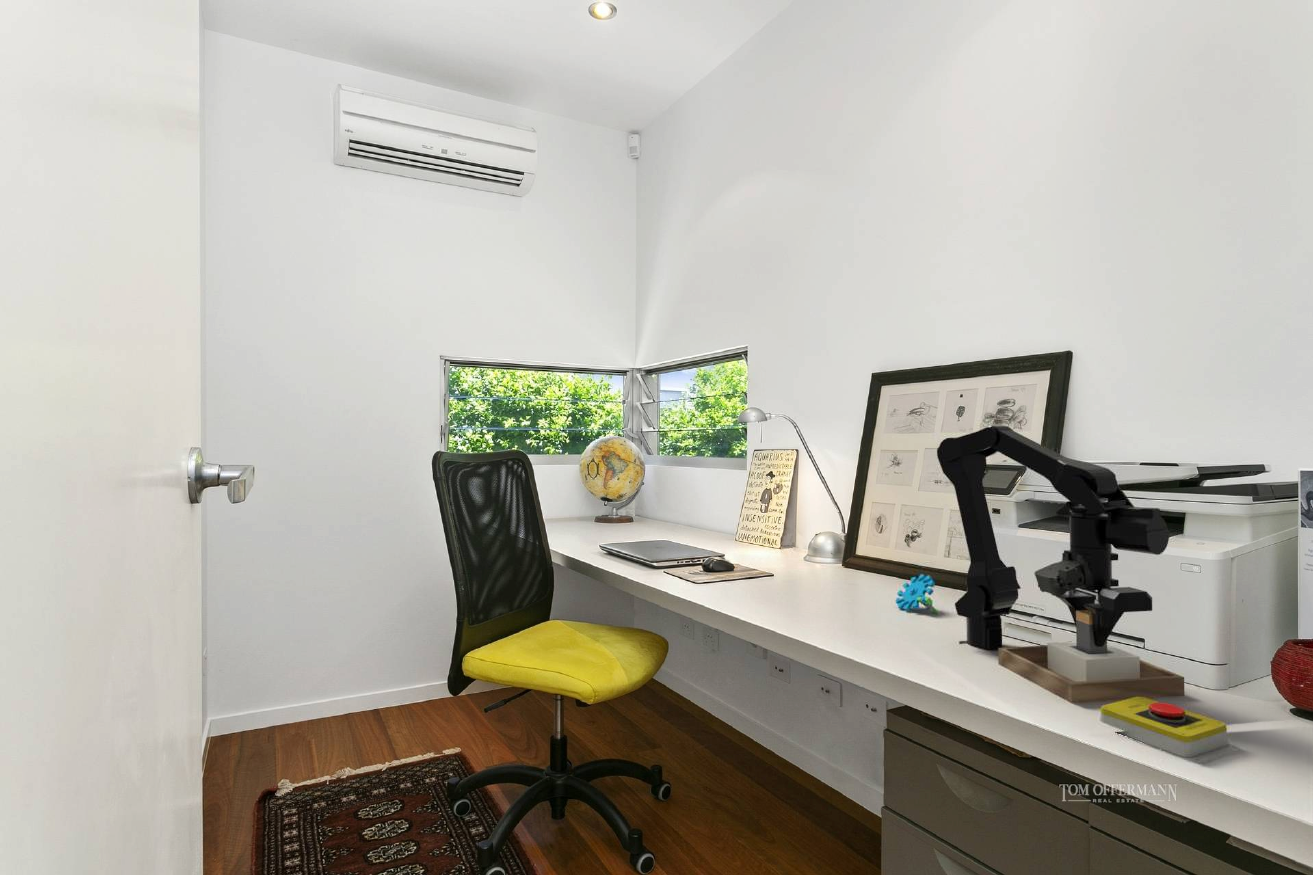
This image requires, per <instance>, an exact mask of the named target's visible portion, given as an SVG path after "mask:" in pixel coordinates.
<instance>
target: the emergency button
mask: <svg viewBox="0 0 1313 875" xmlns="http://www.w3.org/2000/svg"><path fill="white" fill-rule="evenodd" d="M1099 721H1100V722H1101V723H1104V724H1106V725H1108V726H1112V727H1115V728H1117V729H1120V730H1122V731H1114V732H1115V733H1114V734H1116V733H1117V734H1116V735H1119V734H1121V735H1123V736H1122V737H1124V736H1127V737H1128V738H1127V737H1126V738H1127V739H1129V738H1132V739H1134V740H1133V741H1135V740H1137V741H1139V742H1138V743H1140V742H1142V743H1141V744H1143V743H1144V744H1143V745H1145V744H1146V746H1148V745H1149V746H1148V747H1151V748H1153V747H1154V749H1157V750H1159V749H1161V750H1160V751H1162V752H1164V751H1165V753H1168V754H1170V755H1172V756H1175V757H1178V758H1181V759H1183V760H1186V761H1189V762H1192V763H1196V764H1206V763H1209V762H1212V761H1215V760H1218V759H1221V758H1224V757H1227V756H1230V755H1233V754H1235V753H1238V752H1241V750H1242V749H1241V747H1240V746H1239V745H1236V744H1232V743H1229V738H1228V729H1227V724H1226V723H1225V722H1223V721H1222V720H1221V721H1220V720H1217V719H1214V718H1210V717H1207V716H1204V715H1202V714H1198V713H1195V712H1193V711H1192V712H1191V711H1189V710H1185V709H1184V708H1182V707H1180V706H1177V705H1175V704H1171V703H1166V702H1164V703H1163V702H1160V701H1158V700H1154V699H1152V698H1144V697H1134V698H1130V699H1126V700H1117V701H1115V702H1112V703H1111V702H1110V703H1108V704H1104V705H1101V707H1100V715H1099ZM1121 735H1120V736H1121ZM1132 739H1131V740H1132ZM1137 741H1136V742H1137Z"/></svg>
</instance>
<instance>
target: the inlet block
mask: <svg viewBox="0 0 1313 875" xmlns="http://www.w3.org/2000/svg"><path fill="white" fill-rule="evenodd" d="M1046 645H1048V669H1050V670H1052V671H1054V672H1056V673H1058V674H1060V675H1062V676H1064V677H1066V678H1068V679H1070V680H1072V681H1075V682H1083V681H1099V680H1115V679H1131V678H1140V660H1141V656H1139V655H1136V654H1134V653H1131V652H1128V651H1127V650H1123V649H1122V648H1118V647H1116V646H1113V645H1111V644H1108V643H1107V654H1091V655H1089V654H1086V653H1084V652H1082V651H1079V650H1077V645H1076V641H1063V642H1048V643H1047V644H1046Z"/></svg>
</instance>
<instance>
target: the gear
mask: <svg viewBox="0 0 1313 875" xmlns="http://www.w3.org/2000/svg"><path fill="white" fill-rule="evenodd" d="M935 585H936V582H935V581H934V580H933V578H932V577H931V575H929V574H928V575H926V576H925V574H923V573H921V574H920V575H919V577H916V576H913V577H911V578H910V583H909V582H904V583H903V584H902V587H903V588H904V589H905V590H904V591H903V590H902V589H899V590H898V592H897V593H896V594H897V596H898V597H896V599H895V603H896V604H897V607H898V608H899V609H900V610H901V611H902V610H903V609H904V610H905V611H907V612H910V611H911V608H912V609H918V608H920V604H921V605H923V606H924V607H925V608H926V609H930V610H931V611H933V612H934V614H937V613H938V610H937V609H936V608H935V607H934V606H933V602H934V601H933V600H932V599H931V598H930V597H929V596H931V595H932V594H934V590H933V589H932V588H934V587H935ZM928 587H929V588H928ZM926 593H927V594H928V595H929V596H926ZM900 597H901V598H900Z"/></svg>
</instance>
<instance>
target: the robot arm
mask: <svg viewBox="0 0 1313 875" xmlns="http://www.w3.org/2000/svg"><path fill="white" fill-rule="evenodd" d="M939 443H940V444H939V446H938V447H936V456H937V460H938V463H939V465H940V468H941V471H942V473H943V474H944V476H945V477H946V478H947V479H948V480H949V482H950V483H951V484H952V486H953V487H954V492H955V496H956V501H957V504H958V510H959V514H960V517H961V518H960V519H961V523H962V528H963V533H964V538H965V541H966V547H967V551H968V554H969V559H970V560H969V561H970V564H969V568H968V571H967V574H966V577H965V582H966V592H965V593H964V594H963V595H962V596H961V597H960V598H958V600H957V601H956V602H954V607H955V611H956V614H957V616H960V617H963V618H966V640H959V641H958V644H959V645H966V644H967V645H968V646H970V647H974V648H977V649H981V650H985V651H989V652H991V651H998V648H1003V627H1002V625H1003V624H1002V620H1003V619H1002V616H1006V615H1007V616H1008V615H1010V614H1011V612H1012V609H1013V606H1014V605H1015V603H1016V602H1017V600H1018V599H1019V590H1021V586H1020V583H1019V582H1018V579H1017V578H1018V577H1017V570H1016V568H1015V567H1014V566H1013V565H1012V566H1006V564H1005V563H1004V561H1002V559H1001V557H1000V554H999V550H998V546H997V541H996V537H995V533H994V528H993V524H992V520H991V515H990V511H989V506H988V502H987V497H986V492H985V488H984V484H983V479H984V476H985V474H986V471H987V466H988V464H987V458H988V457H991V456H993V455H996V454H997V453H1000V454H1002V455H1003V456H1005V457H1007V458H1009V459H1011V460H1013V461H1014V462H1016V463H1018V464H1020V465H1021V466H1024V467H1025V468H1027V469H1029V470H1031V471H1033V472H1034V473H1036V474H1039V475H1040V476H1042V477H1044V478H1045V479H1046V480H1048V482H1050V484H1051V485H1052V487H1053V488H1054V490H1055V491H1056V492H1058V493H1059V494H1060V495H1062V497H1065V499H1066V500H1067V501H1066V502H1065V504H1064V505H1063V506H1062V507H1060V508H1059V509H1057V510H1056V512H1055V514H1056V515H1057V516H1064V517H1069V549H1066V550H1063V552H1062V554H1061V555H1062V557H1061V560H1060V561H1058V562H1054V563H1051V564H1049V565H1047V566H1044V567H1042V568H1039V569H1037V570H1035V571H1034V576H1035V578H1036V581H1037V582H1036V583H1037V587H1038V588H1039V590H1040V592H1042V593H1048V594H1051V596H1054V597H1056V598H1057V599H1059V600H1060V601H1062V602H1063V603H1064V604H1065V605H1066V606H1067V607H1068V608H1067V609H1068V610H1069V612H1070V615H1071V617H1072V619H1073V622H1074V625H1075V627H1076V611H1078V610H1089V611H1090V612H1091V614H1092V623H1093V634H1094V641H1095V646H1097V647H1102V646H1103V645H1104V644H1105V642H1106V640H1107V641H1108V639H1109V636H1110V635H1111V633H1112V632H1113V629H1114V628H1115V627H1116V625H1117V623H1118V622H1119V620H1120V619H1121V617H1122V616H1123V615H1124V614H1125V613H1137V612H1152V611H1153V597H1152V595H1150V594H1149V592H1148V591H1146V590H1142V589H1139V588H1134V587H1131V586H1125V587H1124V586H1119V584H1120V582H1119V579H1116V578H1113V564H1112V563H1113V562H1112V561H1119V553H1115V552H1113V551H1112V548H1114V549H1116V550H1118V551H1119V550H1120V551H1127V552H1134V553H1141V554H1142V553H1143V554H1149V555H1157V556H1159V555H1161V554H1163V553H1164V552H1165V550H1166V549H1167V547H1168V545H1169V540H1170V529H1168V527H1167V523H1166V521H1165V519H1164V518H1163V517H1162V516H1161V509H1160V508H1158V507H1144V508H1142V507H1135V506H1134V505H1133V503H1132V502H1131V500H1130V498H1128V497H1127V495H1126V494H1125V492H1124V491H1123V490H1122V488H1121V487H1120V486H1119V484H1118V481H1117V478H1116V475H1117V474H1115V473H1114V471H1113V470H1111V469H1110V468H1107V467H1104V466H1101V465H1097V464H1094V463H1092V462H1088V461H1082V460H1077V459H1074V458H1073V459H1072V458H1069V457H1066V456H1064V455H1062V454H1060V453H1058V452H1056V451H1054V450H1052V449H1050V448H1048V447H1046V446H1045V445H1042V444H1040V443H1038V442H1037V441H1034V440H1033V439H1030V438H1028V437H1026V436H1024V435H1022V434H1020V433H1018V432H1016V431H1014V430H1013V428H1011V427H1009V426H1007V425H988V426H986V427H984V428H982V429H980V430H977V431H974V432H970V433H967V434H964V435H961V436H957V437H946V438H944V439H943V440H942V441H941V442H939ZM1112 546H1113V547H1112Z"/></svg>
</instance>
